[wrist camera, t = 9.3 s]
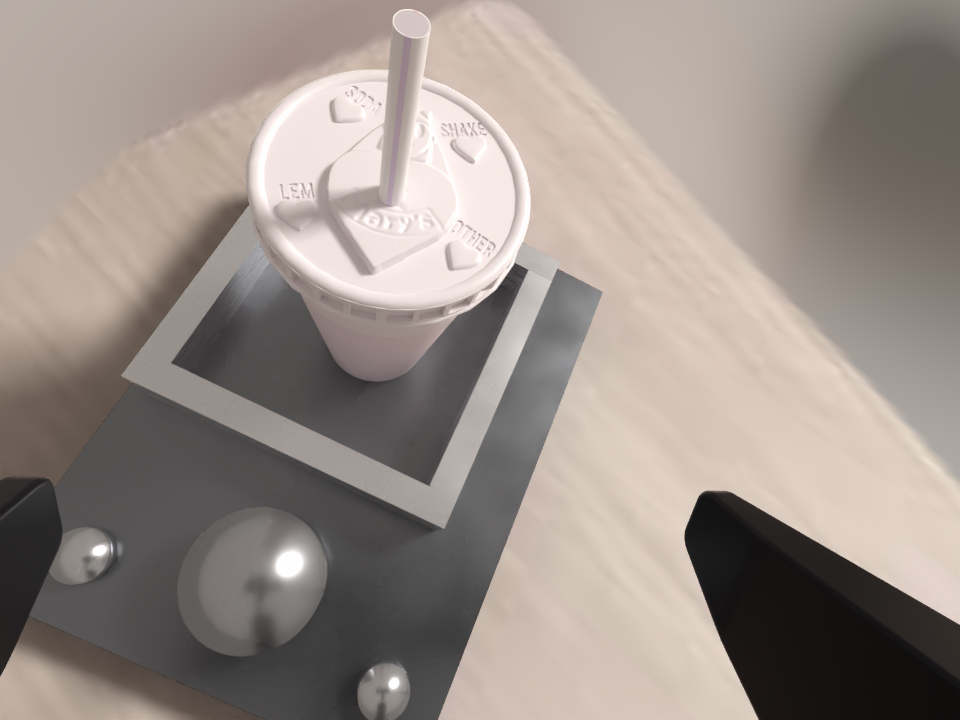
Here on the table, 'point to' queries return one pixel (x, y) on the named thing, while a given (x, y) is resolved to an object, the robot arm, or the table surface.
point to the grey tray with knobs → (309, 493)
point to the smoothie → (386, 205)
